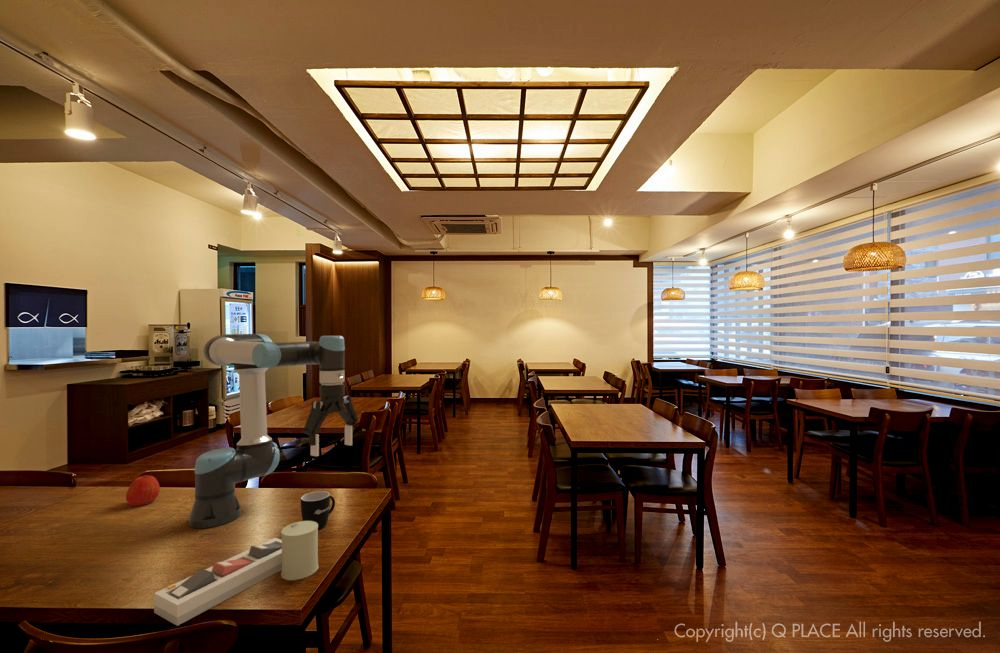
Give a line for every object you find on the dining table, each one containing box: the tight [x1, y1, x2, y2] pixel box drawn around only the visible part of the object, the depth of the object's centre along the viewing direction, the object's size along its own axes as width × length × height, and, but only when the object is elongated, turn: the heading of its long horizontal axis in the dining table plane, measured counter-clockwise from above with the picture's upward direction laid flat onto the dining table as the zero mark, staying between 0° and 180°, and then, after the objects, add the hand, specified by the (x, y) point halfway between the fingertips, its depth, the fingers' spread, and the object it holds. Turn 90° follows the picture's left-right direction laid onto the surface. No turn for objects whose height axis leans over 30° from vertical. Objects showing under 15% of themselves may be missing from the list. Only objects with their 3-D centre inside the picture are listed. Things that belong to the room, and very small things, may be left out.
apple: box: [125, 474, 161, 507], centre depth 165 cm, size 10×10×10 cm
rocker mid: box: [212, 559, 253, 575], centre depth 110 cm, size 8×5×2 cm, turn 152°
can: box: [280, 520, 319, 581], centre depth 116 cm, size 9×9×12 cm
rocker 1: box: [169, 568, 215, 599], centre depth 102 cm, size 8×5×2 cm, turn 153°
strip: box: [153, 537, 282, 627], centre depth 113 cm, size 38×10×5 cm, turn 152°
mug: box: [300, 490, 336, 530], centre depth 144 cm, size 12×9×10 cm
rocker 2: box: [249, 543, 282, 557], centre depth 118 cm, size 8×5×2 cm, turn 152°
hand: (332, 450), depth 137 cm, fingers open, 13 cm apart
